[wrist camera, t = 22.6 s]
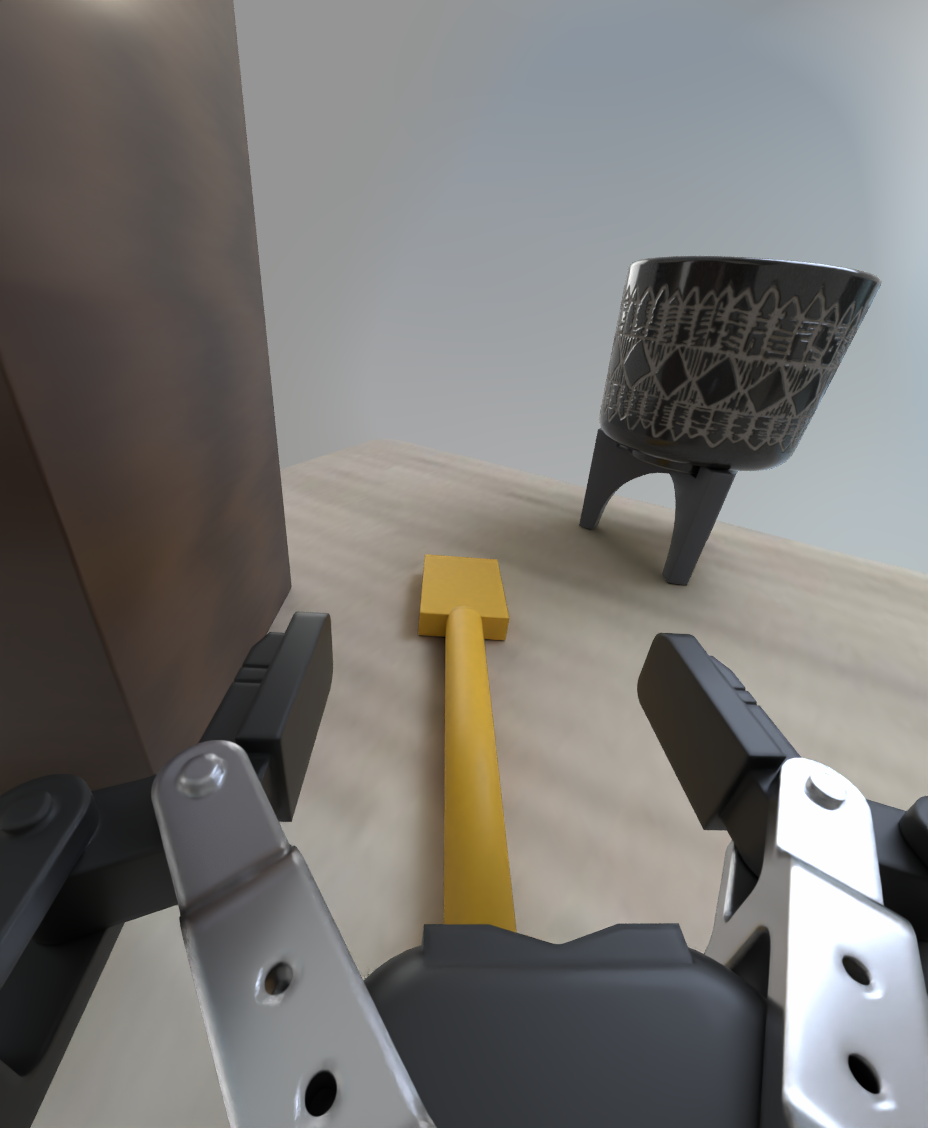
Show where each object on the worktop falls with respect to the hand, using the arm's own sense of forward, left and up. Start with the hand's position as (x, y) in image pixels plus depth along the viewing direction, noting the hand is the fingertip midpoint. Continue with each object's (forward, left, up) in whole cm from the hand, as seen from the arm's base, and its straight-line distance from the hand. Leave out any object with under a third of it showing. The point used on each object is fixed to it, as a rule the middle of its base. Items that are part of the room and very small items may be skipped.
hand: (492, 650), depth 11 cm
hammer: (-1, +4, -7) cm, 8 cm away
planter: (+9, +25, -7) cm, 27 cm away
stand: (-14, +3, -7) cm, 16 cm away
